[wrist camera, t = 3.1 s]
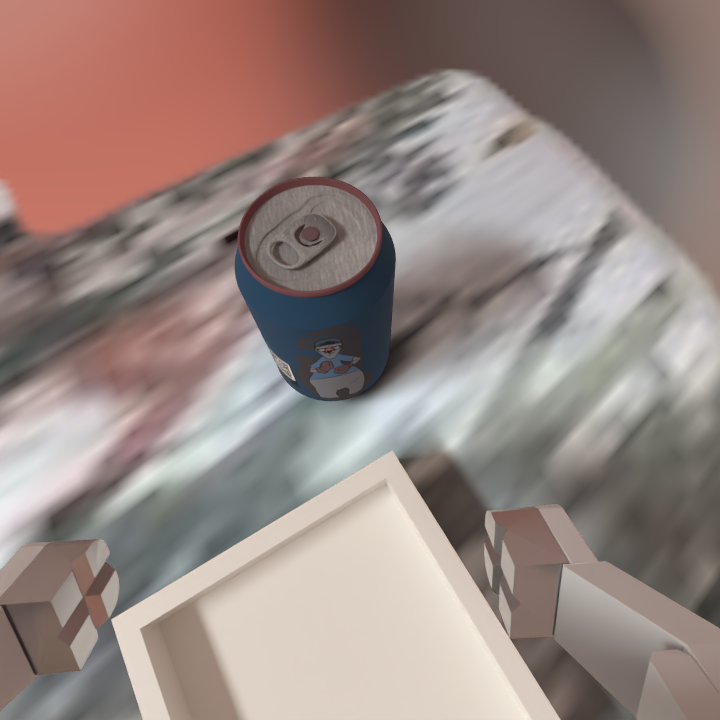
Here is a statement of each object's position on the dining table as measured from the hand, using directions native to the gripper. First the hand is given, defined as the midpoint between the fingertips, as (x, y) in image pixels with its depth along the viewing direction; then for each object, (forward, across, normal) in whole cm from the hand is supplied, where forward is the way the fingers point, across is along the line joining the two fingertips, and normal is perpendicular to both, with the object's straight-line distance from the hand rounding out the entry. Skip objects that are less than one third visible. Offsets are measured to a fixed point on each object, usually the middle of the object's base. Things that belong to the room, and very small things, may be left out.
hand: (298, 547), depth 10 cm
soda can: (+20, 0, +3) cm, 20 cm away
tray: (+7, 0, +15) cm, 17 cm away
